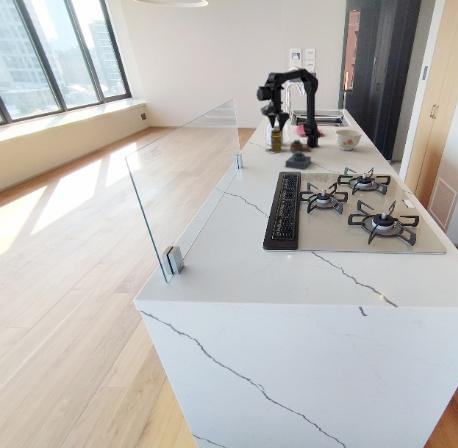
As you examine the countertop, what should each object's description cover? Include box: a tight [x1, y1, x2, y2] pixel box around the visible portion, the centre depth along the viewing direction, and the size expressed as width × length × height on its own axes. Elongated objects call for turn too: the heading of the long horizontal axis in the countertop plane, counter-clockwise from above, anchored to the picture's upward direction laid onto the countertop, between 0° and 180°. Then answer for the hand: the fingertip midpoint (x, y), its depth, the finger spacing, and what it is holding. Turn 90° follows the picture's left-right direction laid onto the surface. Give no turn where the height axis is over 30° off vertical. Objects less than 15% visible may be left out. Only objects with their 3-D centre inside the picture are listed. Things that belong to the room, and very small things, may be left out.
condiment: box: [266, 130, 284, 154], centre depth 170 cm, size 7×8×12 cm
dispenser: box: [285, 153, 312, 170], centre depth 151 cm, size 12×10×5 cm
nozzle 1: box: [293, 139, 301, 144], centre depth 171 cm, size 4×4×2 cm
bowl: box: [334, 129, 363, 151], centre depth 176 cm, size 16×16×10 cm
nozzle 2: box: [294, 151, 303, 157], centre depth 150 cm, size 4×4×2 cm
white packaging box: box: [266, 122, 284, 146], centre depth 181 cm, size 7×7×13 cm
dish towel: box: [296, 125, 324, 137], centre depth 212 cm, size 17×24×3 cm
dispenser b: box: [290, 141, 311, 154], centre depth 173 cm, size 10×8×4 cm
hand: (276, 129), depth 158 cm, fingers open, 9 cm apart
